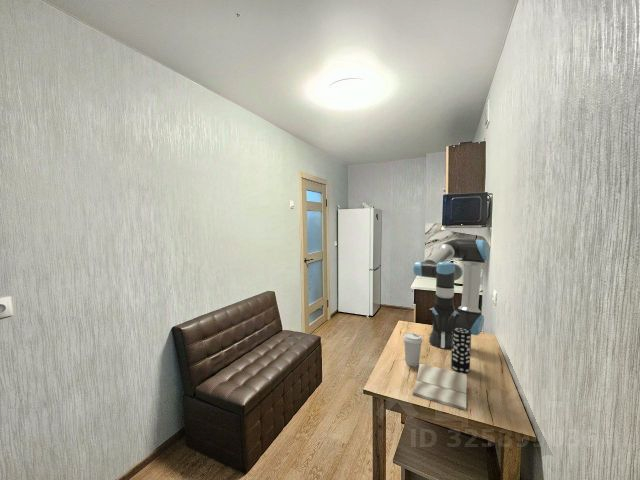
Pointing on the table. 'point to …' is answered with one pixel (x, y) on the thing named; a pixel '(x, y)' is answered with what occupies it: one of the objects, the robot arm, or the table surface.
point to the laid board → (440, 395)
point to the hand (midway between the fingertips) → (442, 346)
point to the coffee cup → (412, 348)
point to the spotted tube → (461, 350)
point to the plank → (442, 378)
